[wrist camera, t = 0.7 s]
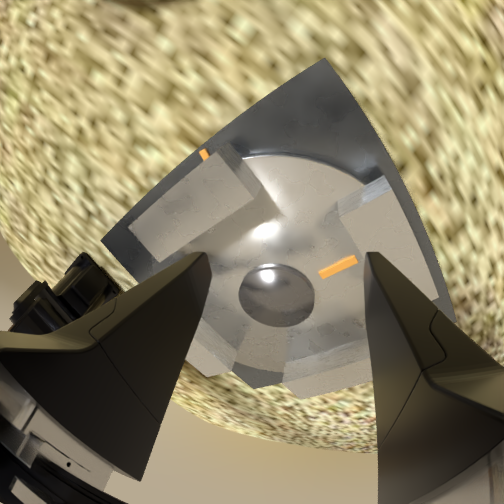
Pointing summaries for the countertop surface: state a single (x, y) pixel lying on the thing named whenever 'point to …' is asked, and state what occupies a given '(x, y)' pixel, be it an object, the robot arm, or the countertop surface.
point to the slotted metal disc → (282, 263)
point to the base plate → (297, 143)
